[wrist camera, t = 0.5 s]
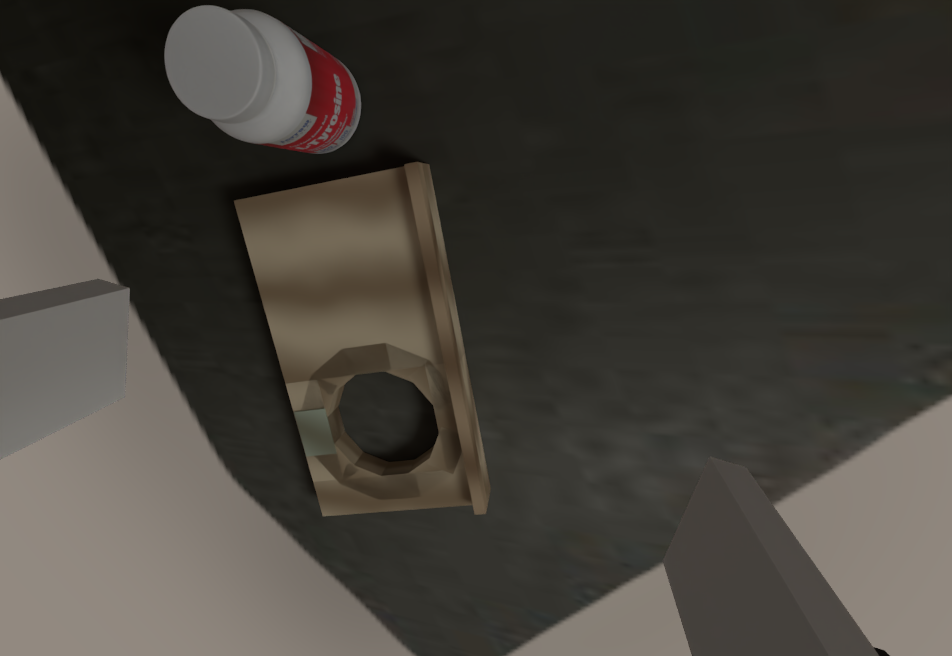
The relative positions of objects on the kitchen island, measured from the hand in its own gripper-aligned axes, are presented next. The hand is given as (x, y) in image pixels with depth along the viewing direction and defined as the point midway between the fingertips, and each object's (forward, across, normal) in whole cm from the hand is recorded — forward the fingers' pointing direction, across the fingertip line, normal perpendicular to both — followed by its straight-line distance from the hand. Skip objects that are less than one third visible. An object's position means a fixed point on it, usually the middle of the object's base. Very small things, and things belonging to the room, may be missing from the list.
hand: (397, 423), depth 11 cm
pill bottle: (+24, -14, +7) cm, 29 cm away
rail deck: (+24, -7, -9) cm, 26 cm away
